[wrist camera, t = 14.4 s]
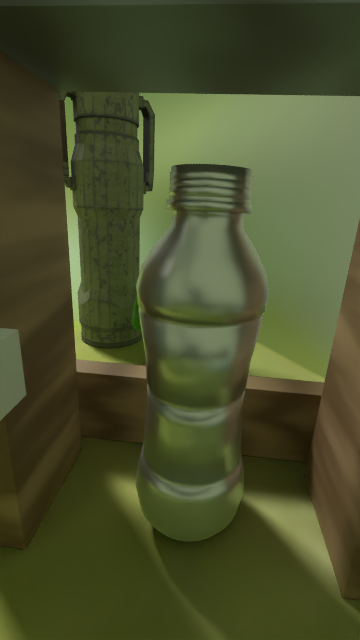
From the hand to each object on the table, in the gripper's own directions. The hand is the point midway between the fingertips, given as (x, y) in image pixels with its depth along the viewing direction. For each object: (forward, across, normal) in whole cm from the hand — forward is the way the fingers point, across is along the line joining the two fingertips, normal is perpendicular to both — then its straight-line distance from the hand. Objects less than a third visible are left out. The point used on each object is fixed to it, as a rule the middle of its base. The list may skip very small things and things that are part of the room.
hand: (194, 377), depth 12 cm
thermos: (+33, -13, -13) cm, 38 cm away
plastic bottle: (+6, 0, -13) cm, 14 cm away
